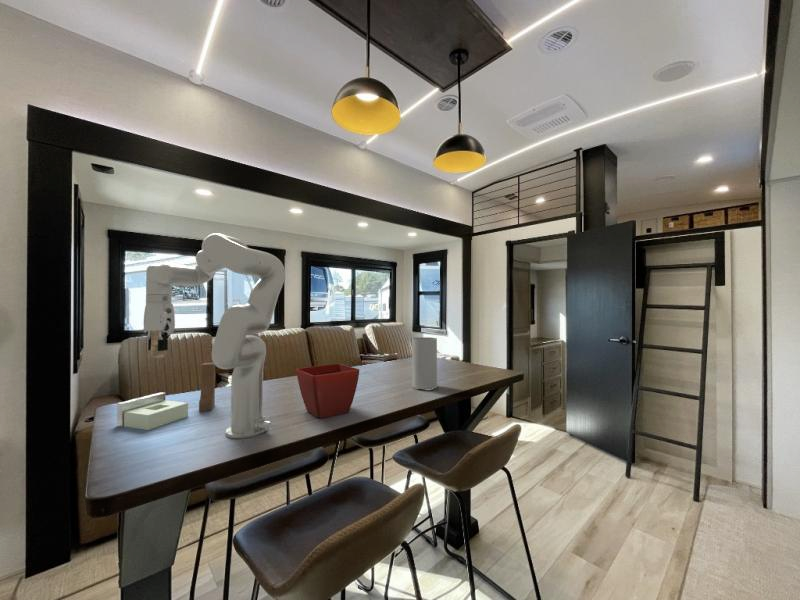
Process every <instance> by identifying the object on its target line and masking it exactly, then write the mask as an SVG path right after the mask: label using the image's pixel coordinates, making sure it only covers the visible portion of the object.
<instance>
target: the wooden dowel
mask: <svg viewBox="0 0 800 600" xmlns="http://www.w3.org/2000/svg"><path fill="white" fill-rule="evenodd" d="M163 331H165V330H163ZM164 333H165V332H164ZM164 333H163V334H164ZM158 340H160V339H159V331H155V330H151V350H150V359H163V358H165V354H166V353H165V351H166V350H164V351H158Z"/></svg>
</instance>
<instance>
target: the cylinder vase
mask: <svg viewBox="0 0 800 600" xmlns="http://www.w3.org/2000/svg"><path fill="white" fill-rule="evenodd" d="M411 339H412V340H411V342H412V345H411V347H412V348H411V351H412V352H411V354H412V355H411V356H412V357H411V358H412V360H411V361H412V364H411V367H412V368H411V369H412V379H411V380H412V381H411V382H412V388H413V387H414V388H417V389H432V388H435V387H437V388H438V344H437V343H438V338H436V337H429V336H428V337H426V336H424V337H421V336H419V337H412V338H411ZM414 388H413V389H414ZM417 389H416V390H417Z"/></svg>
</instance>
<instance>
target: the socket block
mask: <svg viewBox="0 0 800 600" xmlns="http://www.w3.org/2000/svg"><path fill="white" fill-rule="evenodd" d="M187 417H189V402H183V401H173V400H165V401H162V402H158V403H155V404H151V405H148V406H144V407H140V408H137V409H133V410H130V411H126V412H124V426H123V428H124V427H125V428H131V429H138V430H139V429H140V430H145V431H150V430H153V429H156V428H158V427H161V426H163V425H167V424H171V423H172V422H175V421H178V420H182V419H184V418H187Z"/></svg>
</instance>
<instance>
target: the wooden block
mask: <svg viewBox="0 0 800 600" xmlns="http://www.w3.org/2000/svg"><path fill="white" fill-rule="evenodd" d="M215 377H216V365H215V364H214V363H213V362H204V363H202V364H201V365H200V396H199V397H200V398H199V401H198V412H199V413H202V412H203V413H205V412H211V411H213V409H214V406H215V405H216V404H215V403H216V401H215V398H216V397H215V395H216V391H215V388H216V386H215V385H216V381H215V380H216V378H215Z"/></svg>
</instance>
